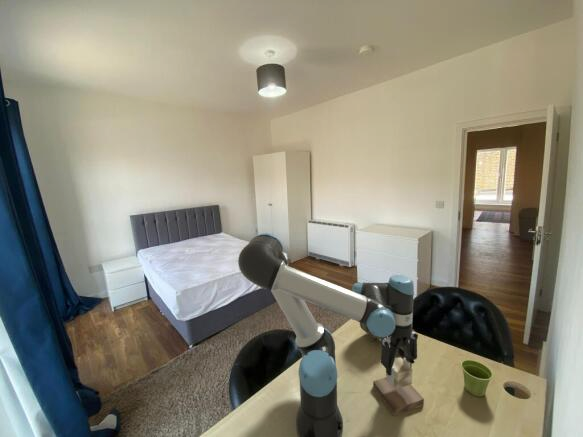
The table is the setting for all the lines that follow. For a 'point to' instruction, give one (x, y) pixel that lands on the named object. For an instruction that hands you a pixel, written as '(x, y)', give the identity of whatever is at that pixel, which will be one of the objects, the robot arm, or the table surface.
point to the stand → (398, 396)
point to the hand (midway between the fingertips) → (398, 378)
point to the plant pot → (476, 377)
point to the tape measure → (401, 351)
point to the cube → (402, 373)
